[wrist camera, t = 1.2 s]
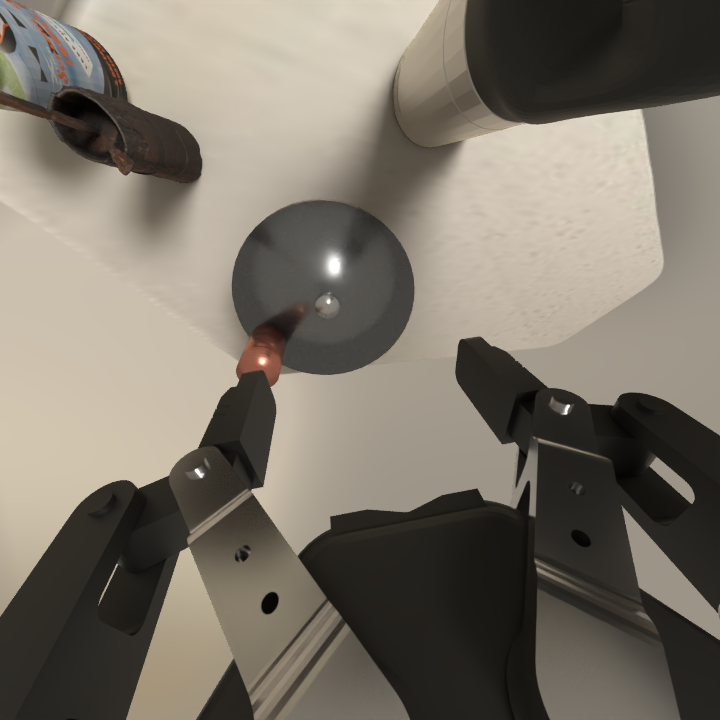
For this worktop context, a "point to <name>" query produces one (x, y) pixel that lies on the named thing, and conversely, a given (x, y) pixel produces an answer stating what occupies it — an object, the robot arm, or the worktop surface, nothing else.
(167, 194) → the worktop surface
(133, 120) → the butter churn
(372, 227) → the grey disc with knob
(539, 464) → the robot arm
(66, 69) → the beverage can
